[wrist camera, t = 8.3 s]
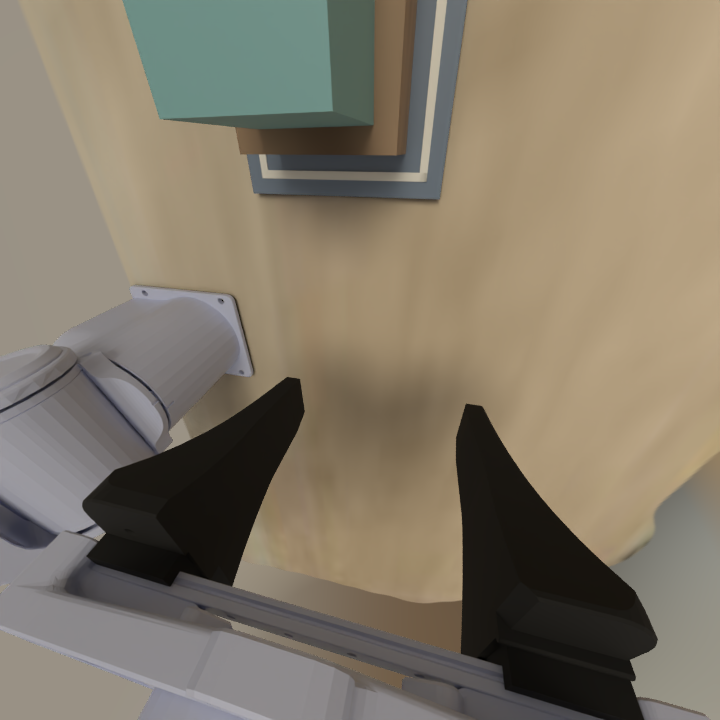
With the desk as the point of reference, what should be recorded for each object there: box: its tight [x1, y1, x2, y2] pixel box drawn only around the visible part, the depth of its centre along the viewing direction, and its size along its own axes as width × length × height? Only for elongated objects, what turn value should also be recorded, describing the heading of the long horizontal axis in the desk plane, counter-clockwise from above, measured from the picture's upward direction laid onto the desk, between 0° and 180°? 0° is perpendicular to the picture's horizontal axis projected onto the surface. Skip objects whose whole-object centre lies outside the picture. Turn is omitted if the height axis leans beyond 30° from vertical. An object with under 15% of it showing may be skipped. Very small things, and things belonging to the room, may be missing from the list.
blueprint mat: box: [247, 0, 467, 199], centre depth 14 cm, size 11×11×1 cm
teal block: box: [123, 0, 375, 129], centre depth 8 cm, size 5×5×6 cm
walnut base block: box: [235, 0, 417, 155], centre depth 12 cm, size 7×7×4 cm
